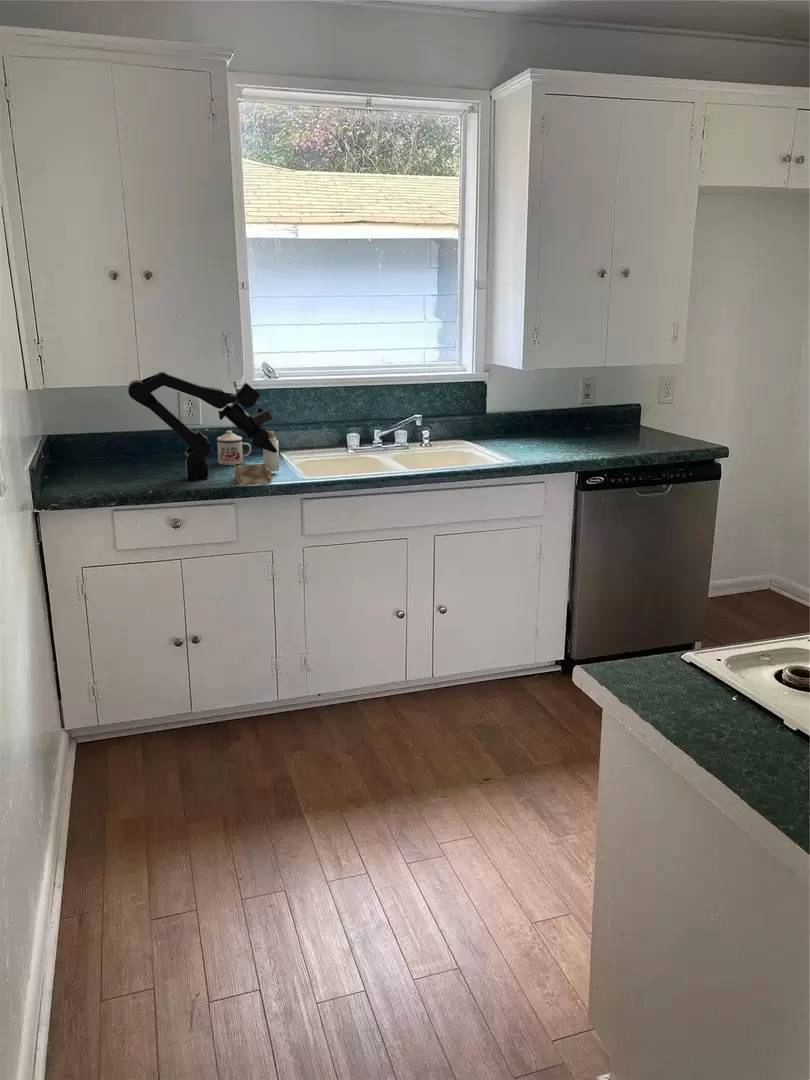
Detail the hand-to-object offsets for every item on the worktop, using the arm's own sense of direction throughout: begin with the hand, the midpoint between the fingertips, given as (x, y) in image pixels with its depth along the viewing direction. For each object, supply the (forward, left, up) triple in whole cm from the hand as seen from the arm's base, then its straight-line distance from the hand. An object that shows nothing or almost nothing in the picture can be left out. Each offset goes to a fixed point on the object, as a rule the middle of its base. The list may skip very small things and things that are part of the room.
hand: (274, 450), depth 282 cm
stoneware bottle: (-1, 0, -7) cm, 7 cm away
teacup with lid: (-10, +21, -8) cm, 25 cm away
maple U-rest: (-9, -8, -8) cm, 15 cm away
